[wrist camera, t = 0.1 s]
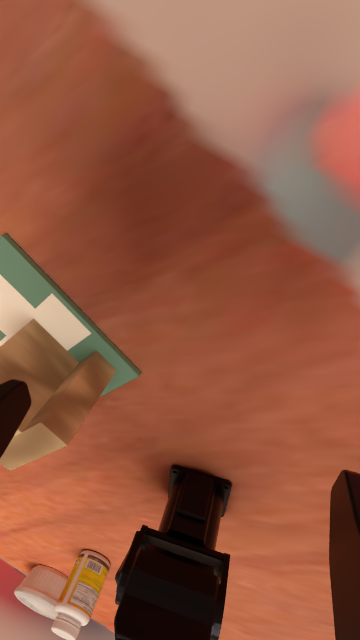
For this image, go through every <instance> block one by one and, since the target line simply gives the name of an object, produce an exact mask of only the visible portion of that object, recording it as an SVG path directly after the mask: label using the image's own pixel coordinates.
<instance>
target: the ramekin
mask: <svg viewBox="0 0 360 640" xmlns="http://www.w3.org/2000/svg"><path fill="white" fill-rule="evenodd" d="M67 580H68V577H67V576H66V575H64V574H63V573H61V572H59V571H57V570H55V569H53V568H51V567H48V566H44V565H37V566H35V567H34V568H32V570H31V571H30V572H29V574H28V575H27V576H26V577H25V579H24V580H23V581H22V583H21V585H20V586H18V587H17V588H16V590H15V592H14V593H15V596H16V597H17V598H18V599H19V600H20V601H21V602H22V603H23V604H25V605H26V606H28V607H29V608H31V609H32V610H34V611H36V612H38V613H39V614H41V615H44V616H46V617H48V618H51V619H54V620H55V619H56V616H58V614H57V613H56V611H55V606H56V604H57V602H58V599H59V597H60V595H61V593H62V591H63V589H64V587H65V585H66V582H67Z"/></svg>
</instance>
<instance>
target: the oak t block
mask: <svg viewBox="0 0 360 640" xmlns="http://www.w3.org/2000/svg"><path fill="white" fill-rule="evenodd" d="M116 371H117V370H116V369H115V368H114V367H113V366H112V365H111V364H110V363H109V362H108V361H107V360H106V359H105V358H104V357H103V356H102V355H101V354H100V353H99V352H98V351H96V352H94V353H93V354H91V355H90V356H88V357H87V358H85V359H84V360H82V361H81V362H78V361H77V360H76V359H75V358H74V357H73V356H72V355H71V354H70V353H69V352H68V351H67V350H66V349H65V348H64V347H63V346H62V345H61V344H60V343H59V342H58V341H57V340H56V339H55V338H54V337H52V336H51V335H50V334H49V333H48V332H47V331H46V330H45V329H44V328H43V327H42V326H41V325H40V324H39V323H38V322H37V321H36V320H35V319H32V320H31V321H30V322H29V323H28V324H26V325H25V326H24V327H23V328H22V329H21V330H19V331H18V332H17V333H16V334H15V335H13V336H12V337H11V338H10V339H9V340H7V341H6V342H5V343H4V344H3V345H2V346H0V384H2V383H4V382H6V381H8V380H11V379H17V380H21V381H24V382H26V383H27V385H28V389H29V392H30V396H31V400H32V402H31V406H30V409H29V410H28V412H27V414H26V416H25V417H24V419H23V421H22V423H21V424H20V426H19V428H18V430H17V432H16V433H15V435H14V437H13V439H12V440H11V442H10V444H9V446H8V447H7V449H6V450H5V452H4V454H3V455H2V457H1V458H0V464H1V465H2V466H3V467H5V468H6V469H7V470H9V471H10V470H13V469H15V468H17V467H19V466H22V465H24V464H26V463H29V462H31V461H33V460H36V459H38V458H40V457H42V456H45V455H47V454H49V453H52V452H54V451H56V450H58V449H61V448H63V447H65V446H67V445H68V444H69V442H70V441H71V439H72V438H73V436H74V435H75V433H76V432H77V430H78V429H79V427H80V426H81V424H82V423H83V421H84V420H85V418H86V417H87V415H88V414H89V412H90V410H91V409H92V407H93V406H94V404H95V403H96V401H97V400H98V398H99V397H100V395H101V394H102V392H103V391H104V389H105V388H106V386H107V385H108V383H109V382H110V380H111V379H112V377H113V375H114V374H115V372H116Z"/></svg>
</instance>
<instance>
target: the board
mask: <svg viewBox="0 0 360 640" xmlns="http://www.w3.org/2000/svg"><path fill="white" fill-rule="evenodd" d="M32 319H35V320H36V321H37V322H38V323H39V324H40V325H41V326H42V327H43V328H44V329H45V330H46V331H47V332H48V333H49V334H50V335H51V336H52V337H54V338H55V339H56V340H57V341H58V342H59V343H60V344H61V345H62V346H63V347H64V348H65V349H66V350H67V351H68V352H69V353H70V354H71V355H72V356H73V357H74V358H75V359H76V360H77V361H78V362H81V361H82V360H84V359H85V358H87V357H88V356H90V355H91V354H93V353H94V352H96V351H98V352H99V353H100V354H101V355H102V356H103V357H104V358H105V359H106V360H107V361H108V362H109V363H110V364H111V365H112V366H113V367H114V368H115V369H116V370H117V371H116V372H115V374H114V375H113V377H112V379H111V380H110V382H109V383H108V385H107V386H106V388H105V389H104V391H103V392H102V394H101V395H100V397H101V396H103V395H105V394H107V393H109V392H110V391H112V390H114V389H116V388H118V387H120V386H122V385H124V384H126V383H127V382H129V381H131V380H133V379H135V378H137V377H139V376H140V374H141V372H140V371H139V370H138V369H137V368H136V367H135V366H134V364H133V363H132V362H131V361H130V360H129V359H128V358H127V357H126V356H125V355H124V354H123V353H122V352H121V351H120V350H119V349H118V348H117V347H116V346H115V345H114V344H113V343H112V342H111V341H110V340H109V339H108V338H107V337H106V336H105V335H104V334H103V332H102V331H101V330H100V329H99V328H98V327H97V326H96V325H95V324H94V323H93V322H92V321H91V320H90V319H89V318H88V317H87V316H86V315H85V314H84V313H83V312H82V311H81V310H80V309H79V308H78V307H77V306H76V305H75V304H74V303H73V301H72V300H71V299H70V298H69V297H68V296H67V295H66V294H65V293H64V292H63V291H62V290H61V289H60V288H59V287H58V286H57V285H56V284H55V283H54V282H53V281H52V280H51V279H50V278H49V277H48V276H47V275H46V274H45V273H44V272H43V271H42V269H41V268H40V267H39V266H38V265H37V264H36V263H35V262H34V261H33V260H32V259H31V258H30V257H29V256H28V255H27V254H26V253H25V252H24V251H23V250H22V249H21V248H20V247H19V246H18V245H17V244H16V243H15V242H14V241H13V240H12V238H11V237H10V236H9V235H8V234H7V233H6V234H4V235H2V236H1V237H0V346H2V345H3V344H4V343H5V342H6V341H7V340H9V339H10V338H11V337H12V336H13V335H15V334H16V333H17V332H18V331H19V330H21V329H22V328H23V327H24V326H25V325H26V324H28V323H29V322H30V321H31V320H32Z"/></svg>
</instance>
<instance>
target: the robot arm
mask: <svg viewBox="0 0 360 640" xmlns="http://www.w3.org/2000/svg"><path fill="white" fill-rule="evenodd" d="M31 402H32V400H31V396H30V392H29V389H28V385H27V383H26V382H24V381H21V380H17V379H11V380H8V381H6V382H4V383H2V384H0V458H1V457H2V455H3V454H4V452H5V450H6V449H7V447H8V446H9V444H10V442H11V440H12V439H13V437H14V435H15V433H16V432H17V430H18V428H19V426H20V424H21V423H22V421H23V419H24V417H25V416H26V414H27V412H28V410H29V409H30V406H31ZM231 487H232V484H231V483H230V482H228V481H225V480H221V479H218V478H215V477H211V476H208V475H205V474H202V473H198V472H195V471H192V470H188V469H185V468H182V467H178V466H172V467H171V470H170V481H169V494H168V502H167V505H166V508H165V511H164V514H163V517H162V520H161V524H160V527H159V530H158V531H157V530H154V529H151V528H148V526H145V525H142V528H141V530H140V531H136V534H135V537H134V539H133V542H132V545H131V547H130V549H129V551H128V553H127V555H126V557H125V559H124V560H123V562H122V564H121V566H120V568H119V569H118V571H117V573H116V577H115V580H116V583H117V591H116V592H117V594H116V599H115V603H116V604H117V605H119V607H118V610H117V613H116V616H115V620H114V627H115V640H218V639H219V634H220V629H221V624H222V618H223V612H224V605H225V597H226V588H227V579H228V570H229V561H230V554H227V553H224V554H223V553H220V552H217V551H215V547H216V541H217V536H218V530H219V525H220V519H221V517H223V516H224V513H225V510H226V506H227V502H228V499H229V495H230V491H231ZM329 565H330V578H331V590H332V602H333V614H334V626H335V638H336V640H360V474H359V473H356V472H352V471H349V470H342V471H341V473H340V474H339V476H338V478H337V480H336V481H335V483H334V485H333V487H332V490H331V500H330V540H329Z"/></svg>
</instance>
